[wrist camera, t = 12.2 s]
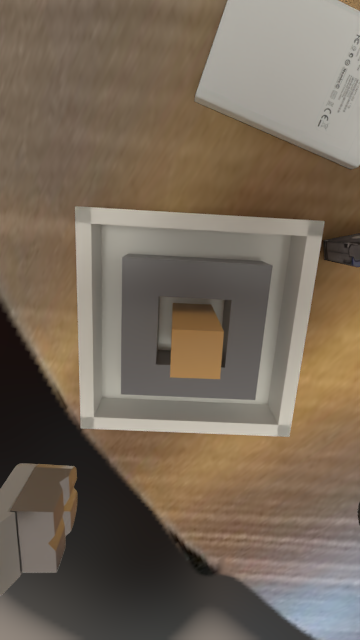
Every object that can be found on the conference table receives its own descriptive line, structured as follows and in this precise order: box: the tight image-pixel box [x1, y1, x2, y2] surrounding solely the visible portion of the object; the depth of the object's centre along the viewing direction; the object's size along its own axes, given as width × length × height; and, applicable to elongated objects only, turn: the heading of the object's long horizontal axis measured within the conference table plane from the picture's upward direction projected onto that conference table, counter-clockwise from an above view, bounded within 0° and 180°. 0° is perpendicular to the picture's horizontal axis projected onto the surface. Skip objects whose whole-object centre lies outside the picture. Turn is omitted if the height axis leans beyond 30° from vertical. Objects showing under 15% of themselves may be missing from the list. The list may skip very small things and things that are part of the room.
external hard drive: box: [194, 0, 360, 169], centre depth 23 cm, size 2×8×12 cm
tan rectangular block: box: [170, 303, 224, 379], centre depth 23 cm, size 3×3×7 cm
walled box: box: [75, 206, 325, 437], centre depth 25 cm, size 16×16×4 cm
